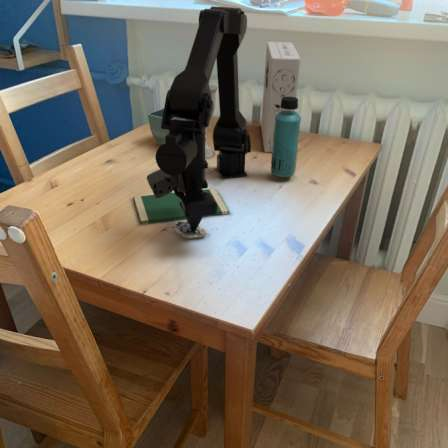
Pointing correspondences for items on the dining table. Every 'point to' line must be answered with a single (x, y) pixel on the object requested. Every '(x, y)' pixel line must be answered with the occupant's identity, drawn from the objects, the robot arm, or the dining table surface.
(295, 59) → the cereal box
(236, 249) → the dining table surface
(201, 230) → the blueberries
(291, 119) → the beverage bottle
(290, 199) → the dining table surface
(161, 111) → the flower pot
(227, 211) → the green flat rectangular block
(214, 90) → the chalice
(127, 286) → the dining table surface
